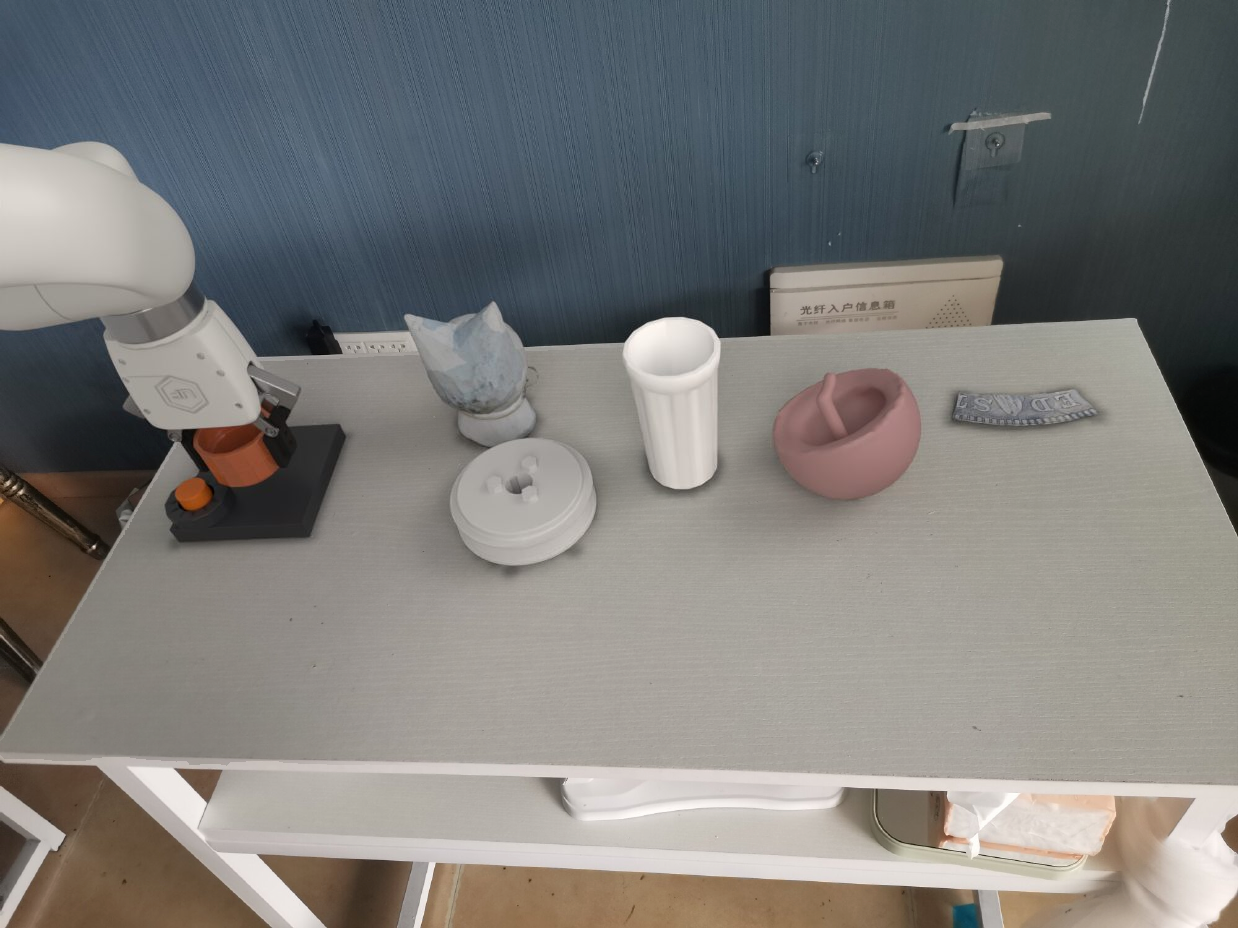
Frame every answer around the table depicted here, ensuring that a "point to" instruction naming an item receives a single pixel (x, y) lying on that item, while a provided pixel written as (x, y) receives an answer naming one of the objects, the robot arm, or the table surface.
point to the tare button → (193, 494)
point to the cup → (676, 397)
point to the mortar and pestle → (849, 433)
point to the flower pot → (235, 454)
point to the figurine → (478, 373)
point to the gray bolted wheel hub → (523, 501)
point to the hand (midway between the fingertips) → (249, 458)
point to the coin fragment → (1022, 408)
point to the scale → (266, 495)
